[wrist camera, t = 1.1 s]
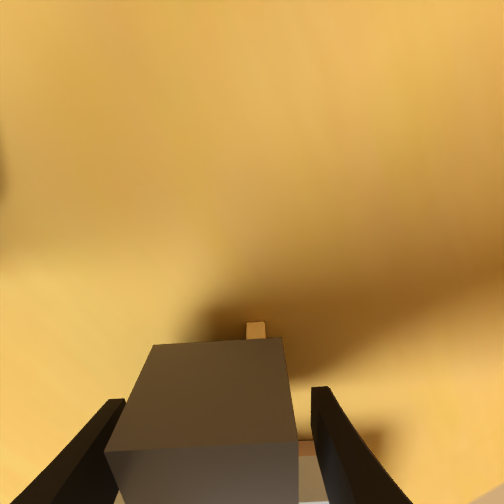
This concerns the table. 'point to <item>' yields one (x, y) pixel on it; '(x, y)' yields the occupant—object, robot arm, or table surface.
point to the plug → (209, 426)
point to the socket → (310, 477)
